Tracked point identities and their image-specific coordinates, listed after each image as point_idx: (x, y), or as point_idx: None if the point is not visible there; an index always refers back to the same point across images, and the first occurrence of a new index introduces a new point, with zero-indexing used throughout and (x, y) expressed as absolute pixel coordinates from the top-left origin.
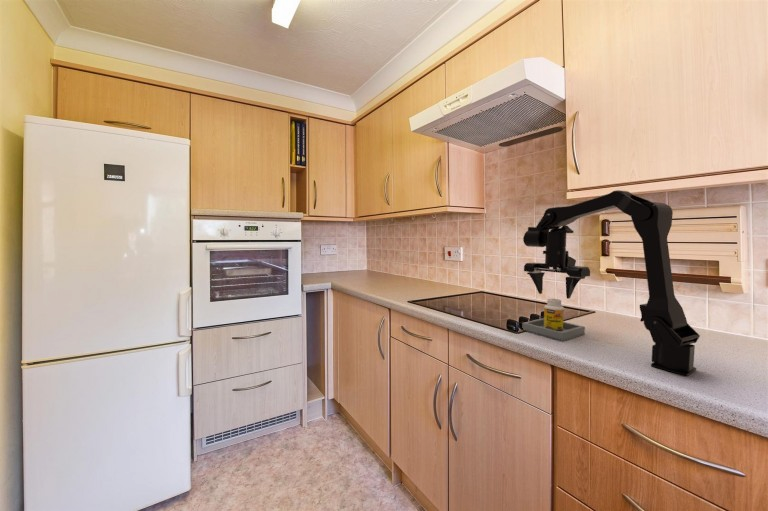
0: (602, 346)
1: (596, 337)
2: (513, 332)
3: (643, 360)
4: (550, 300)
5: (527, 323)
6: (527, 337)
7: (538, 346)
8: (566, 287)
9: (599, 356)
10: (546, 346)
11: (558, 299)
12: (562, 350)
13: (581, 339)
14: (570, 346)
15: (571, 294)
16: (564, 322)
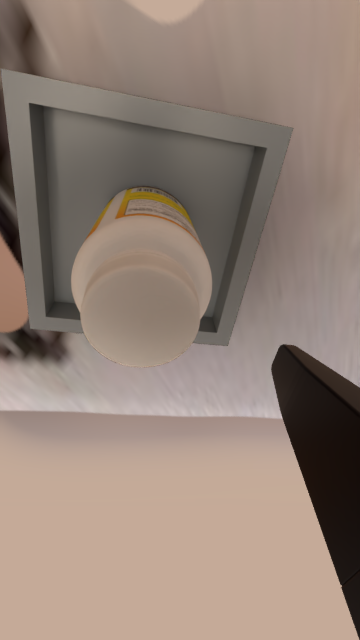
0: (354, 267)
1: (333, 136)
2: (45, 356)
3: None
4: (133, 365)
5: (51, 320)
6: (116, 368)
7: (186, 411)
8: (319, 507)
9: (342, 367)
10: (203, 397)
11: (161, 280)
12: (249, 394)
13: (276, 237)
14: (259, 349)
15: (323, 368)
16: (164, 117)
